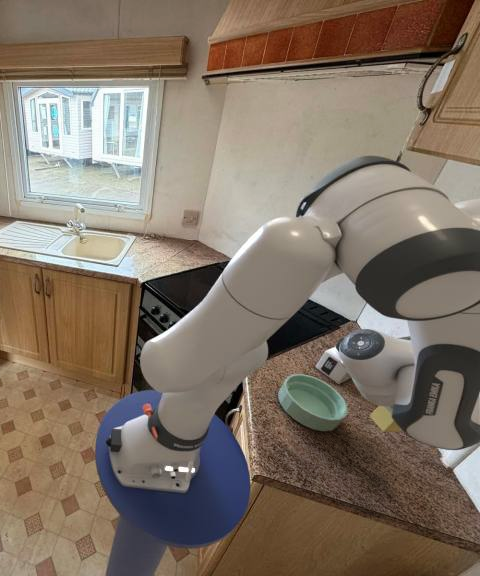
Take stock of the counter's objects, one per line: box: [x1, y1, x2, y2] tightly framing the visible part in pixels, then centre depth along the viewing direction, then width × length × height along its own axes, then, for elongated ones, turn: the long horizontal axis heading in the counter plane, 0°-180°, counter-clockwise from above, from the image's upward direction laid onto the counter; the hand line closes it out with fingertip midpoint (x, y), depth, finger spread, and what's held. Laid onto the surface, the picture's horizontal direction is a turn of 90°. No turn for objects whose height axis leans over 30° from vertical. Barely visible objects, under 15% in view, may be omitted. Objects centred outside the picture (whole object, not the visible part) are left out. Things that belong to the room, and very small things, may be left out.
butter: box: [369, 405, 403, 433], centre depth 71 cm, size 4×4×8 cm
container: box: [315, 337, 352, 385], centre depth 97 cm, size 8×8×13 cm
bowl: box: [277, 373, 349, 432], centre depth 86 cm, size 15×15×6 cm
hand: (397, 412), depth 71 cm, fingers closed on butter, 4 cm apart
